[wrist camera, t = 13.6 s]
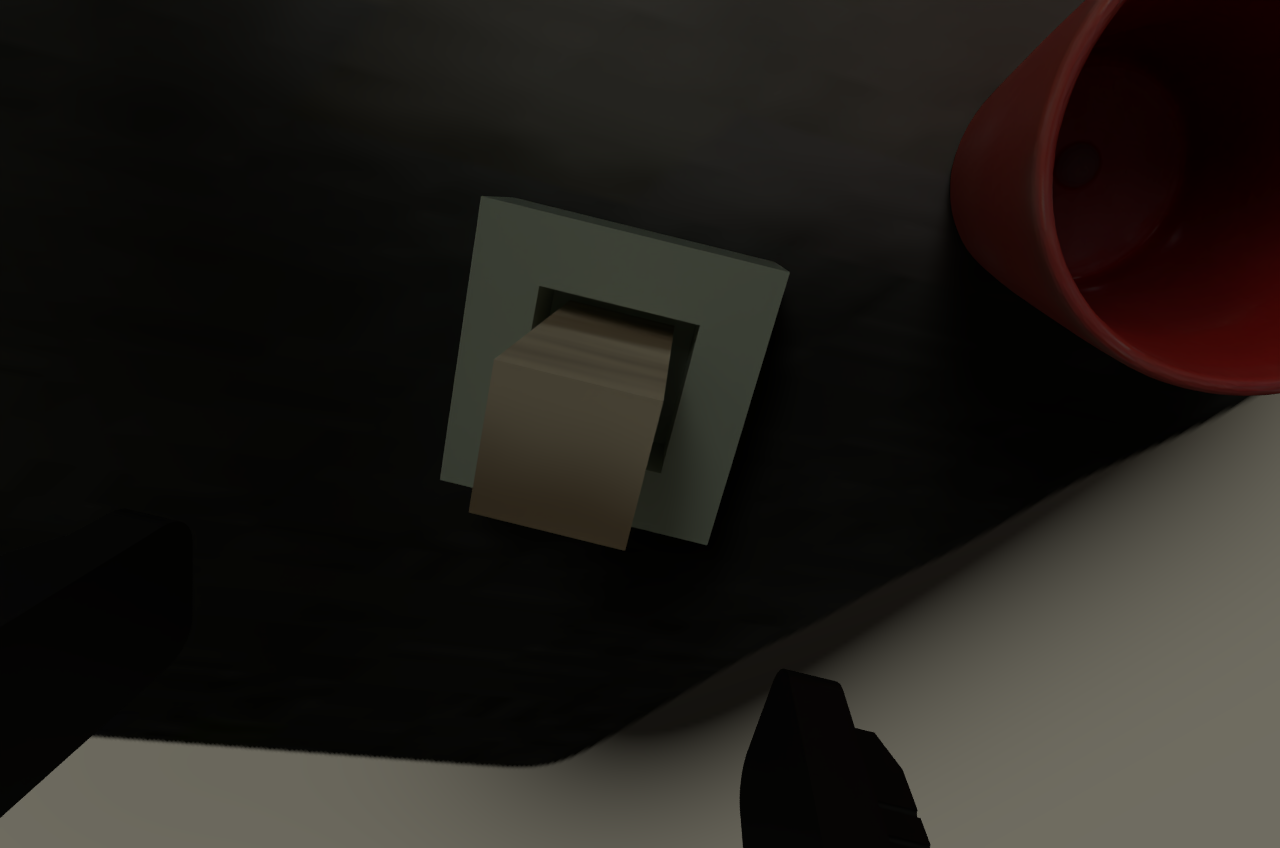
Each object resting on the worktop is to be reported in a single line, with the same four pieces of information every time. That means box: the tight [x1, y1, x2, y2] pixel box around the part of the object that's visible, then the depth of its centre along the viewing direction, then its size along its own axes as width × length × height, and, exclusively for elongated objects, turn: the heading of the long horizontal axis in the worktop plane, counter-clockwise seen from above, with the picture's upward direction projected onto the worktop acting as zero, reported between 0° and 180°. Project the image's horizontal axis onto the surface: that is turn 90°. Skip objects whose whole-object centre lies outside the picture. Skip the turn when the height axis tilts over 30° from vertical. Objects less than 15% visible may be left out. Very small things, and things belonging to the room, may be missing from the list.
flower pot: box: [950, 0, 1280, 396], centre depth 18 cm, size 11×11×10 cm
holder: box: [440, 196, 790, 545], centre depth 24 cm, size 10×10×4 cm
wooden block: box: [469, 300, 674, 551], centre depth 20 cm, size 4×4×10 cm
